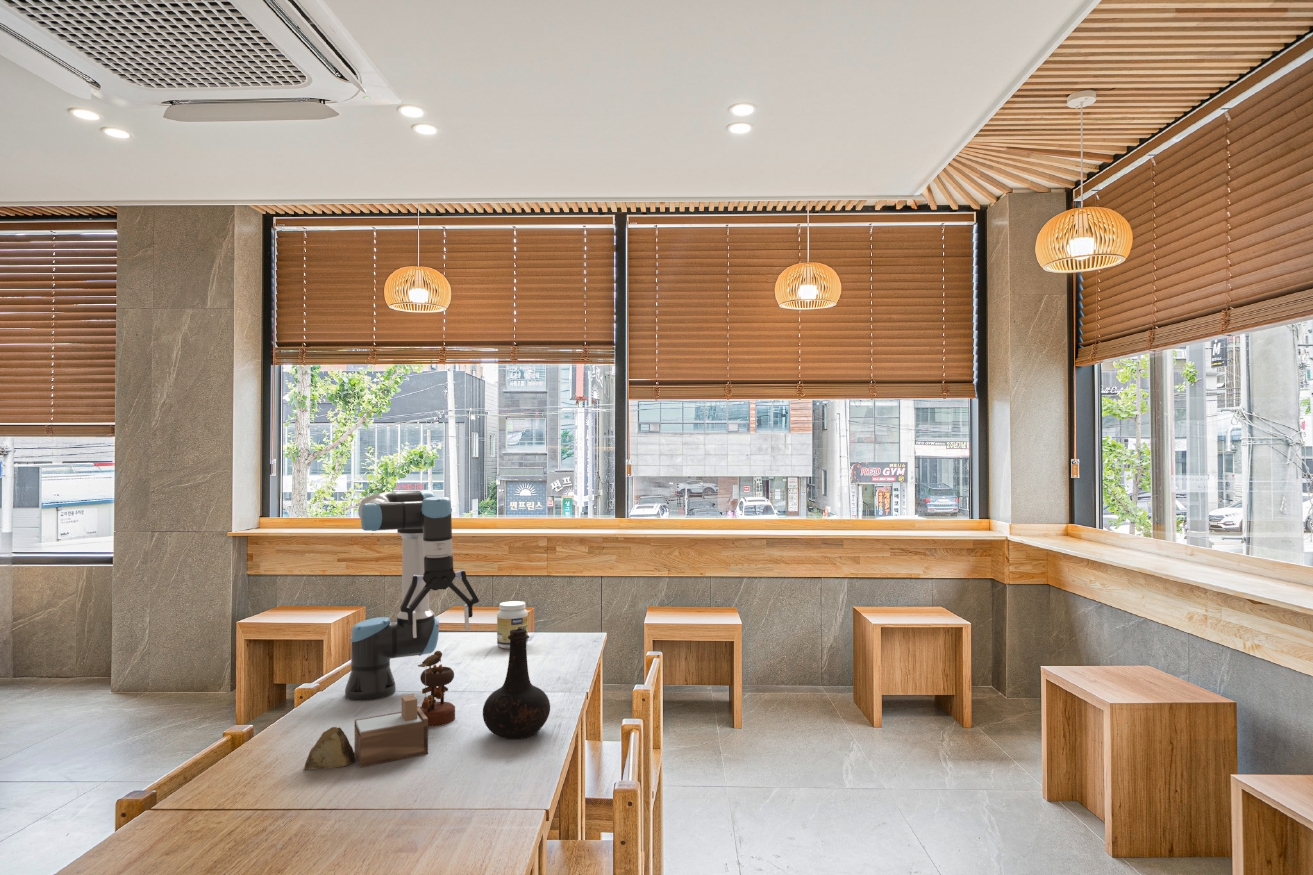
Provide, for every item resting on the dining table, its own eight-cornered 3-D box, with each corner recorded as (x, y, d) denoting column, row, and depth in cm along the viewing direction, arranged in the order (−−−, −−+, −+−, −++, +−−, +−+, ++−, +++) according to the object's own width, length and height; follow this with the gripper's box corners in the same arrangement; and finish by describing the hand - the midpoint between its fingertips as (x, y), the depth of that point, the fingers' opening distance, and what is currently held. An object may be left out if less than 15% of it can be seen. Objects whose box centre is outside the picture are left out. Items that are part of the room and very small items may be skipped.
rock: (291, 765, 173) (328, 762, 171) (303, 728, 179) (338, 725, 177) (319, 777, 181) (354, 775, 179) (329, 742, 187) (363, 739, 185)
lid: (355, 724, 186) (355, 700, 186) (414, 714, 193) (414, 691, 194) (360, 735, 178) (361, 711, 179) (422, 724, 186) (422, 700, 186)
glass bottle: (469, 741, 193) (469, 634, 194) (506, 718, 210) (505, 620, 211) (529, 749, 187) (528, 639, 188) (561, 725, 204) (560, 624, 205)
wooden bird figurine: (445, 729, 202) (439, 656, 203) (408, 731, 203) (402, 658, 204) (466, 710, 217) (460, 642, 218) (431, 712, 219) (426, 645, 219)
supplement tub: (512, 650, 285) (512, 607, 286) (490, 646, 292) (490, 604, 293) (534, 644, 296) (534, 602, 296) (512, 640, 302) (512, 599, 303)
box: (354, 751, 187) (354, 717, 187) (418, 739, 195) (418, 706, 195) (360, 767, 177) (360, 730, 177) (428, 753, 185) (427, 718, 185)
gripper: (389, 562, 188) (392, 643, 189) (487, 552, 197) (490, 630, 198) (388, 556, 195) (391, 635, 196) (483, 548, 204) (485, 622, 205)
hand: (441, 632), depth 197 cm, fingers open, 13 cm apart
